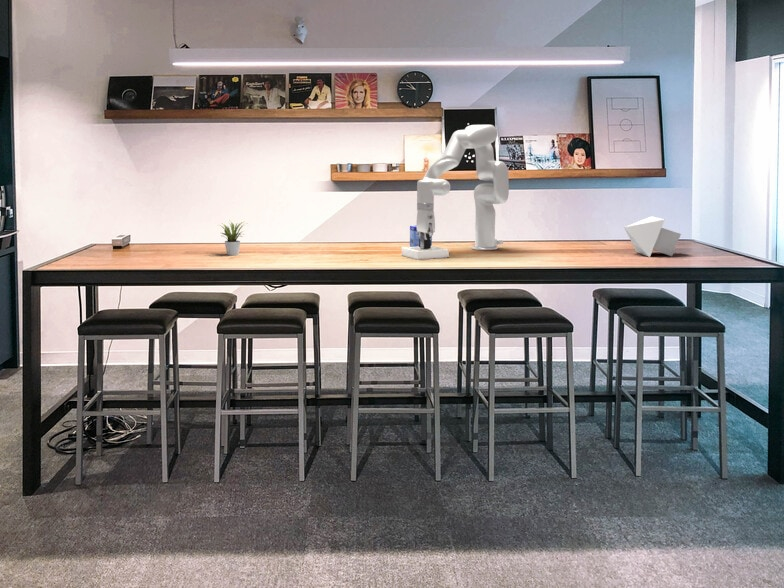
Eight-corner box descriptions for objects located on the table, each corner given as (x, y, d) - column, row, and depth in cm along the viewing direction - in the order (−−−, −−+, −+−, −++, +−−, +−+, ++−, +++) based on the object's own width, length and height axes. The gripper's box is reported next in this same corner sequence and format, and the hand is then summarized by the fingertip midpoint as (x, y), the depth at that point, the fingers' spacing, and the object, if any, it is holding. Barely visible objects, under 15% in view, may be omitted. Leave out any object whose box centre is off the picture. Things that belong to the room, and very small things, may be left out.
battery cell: (426, 248, 367) (426, 231, 366) (430, 249, 364) (430, 232, 362) (418, 248, 365) (419, 232, 364) (422, 249, 362) (423, 233, 361)
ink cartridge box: (414, 252, 380) (414, 221, 377) (408, 251, 385) (408, 220, 382) (432, 251, 384) (432, 220, 381) (427, 249, 389) (427, 220, 386)
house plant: (254, 252, 379) (253, 218, 376) (246, 256, 365) (245, 220, 362) (225, 252, 380) (224, 217, 377) (216, 256, 367) (214, 220, 364)
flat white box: (432, 253, 376) (432, 245, 375) (448, 257, 361) (448, 249, 361) (401, 255, 369) (401, 247, 368) (417, 259, 355) (417, 251, 354)
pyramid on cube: (611, 243, 377) (625, 207, 375) (658, 259, 380) (672, 223, 377) (622, 248, 361) (637, 209, 358) (671, 264, 363) (686, 227, 360)
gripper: (441, 208, 355) (440, 249, 359) (424, 205, 370) (423, 245, 373) (426, 208, 352) (426, 250, 355) (409, 206, 367) (409, 246, 370)
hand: (424, 247), depth 364 cm, fingers closed on battery cell, 4 cm apart
